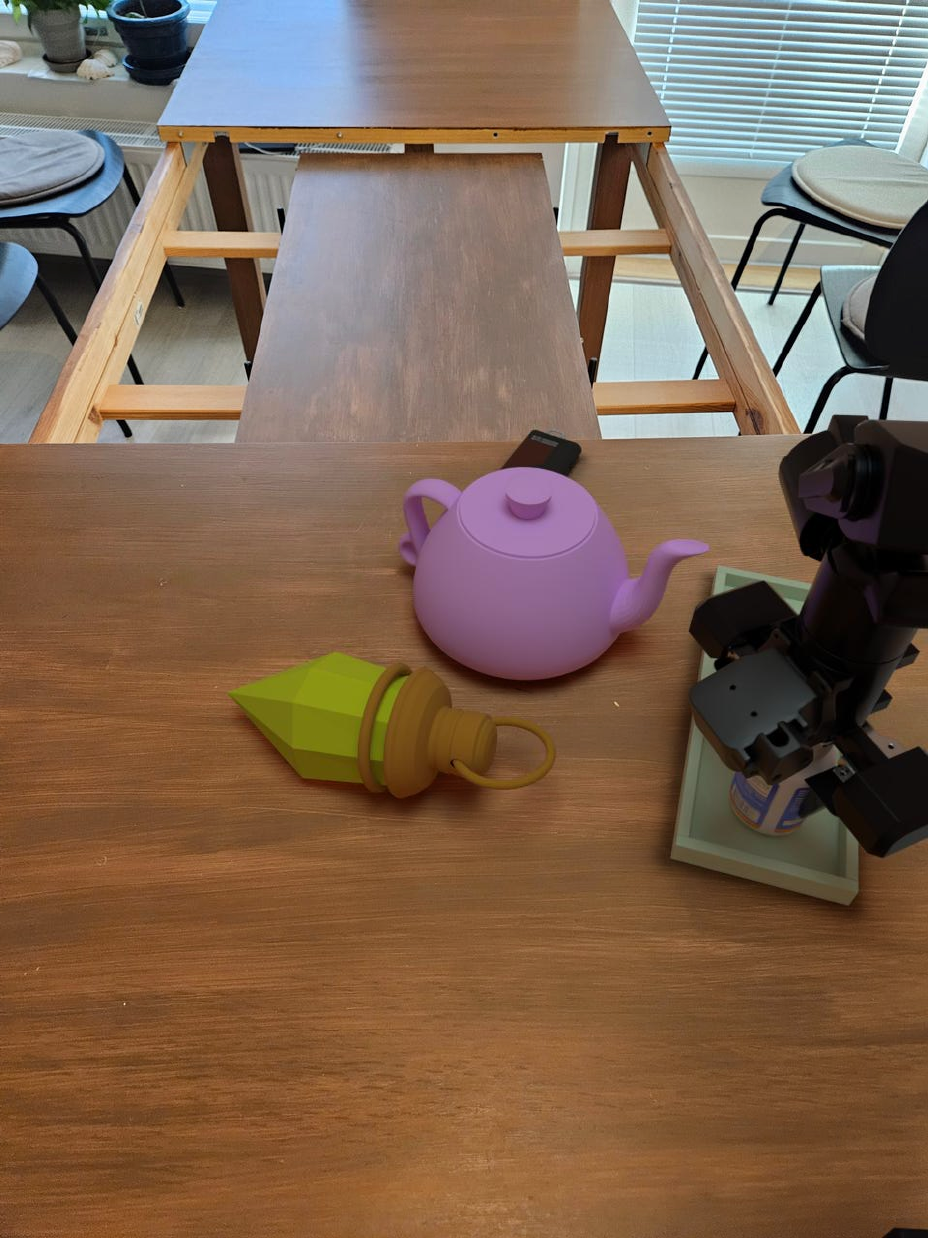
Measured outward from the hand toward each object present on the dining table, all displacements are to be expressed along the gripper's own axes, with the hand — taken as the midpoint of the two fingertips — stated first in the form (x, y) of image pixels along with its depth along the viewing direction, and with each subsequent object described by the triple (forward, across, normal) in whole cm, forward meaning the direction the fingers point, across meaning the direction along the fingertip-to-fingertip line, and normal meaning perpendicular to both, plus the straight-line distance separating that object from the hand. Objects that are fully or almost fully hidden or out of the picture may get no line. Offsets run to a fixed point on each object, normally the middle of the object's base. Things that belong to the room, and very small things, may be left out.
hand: (778, 780), depth 60 cm
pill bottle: (+3, 0, 0) cm, 3 cm away
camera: (+4, -39, +1) cm, 39 cm away
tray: (+4, -6, +5) cm, 9 cm away
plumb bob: (+4, -14, -23) cm, 28 cm away
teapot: (+4, -23, -7) cm, 24 cm away
